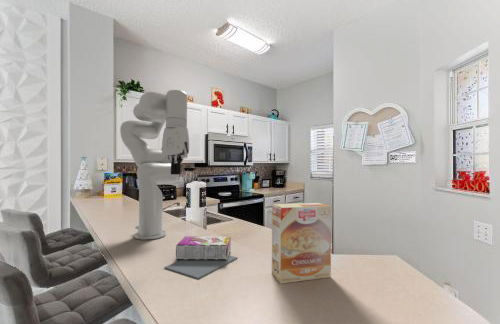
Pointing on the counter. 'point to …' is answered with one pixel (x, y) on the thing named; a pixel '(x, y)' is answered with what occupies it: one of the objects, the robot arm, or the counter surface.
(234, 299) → the counter surface
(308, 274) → the coffeecake box
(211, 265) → the mat
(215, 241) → the candy bar box
